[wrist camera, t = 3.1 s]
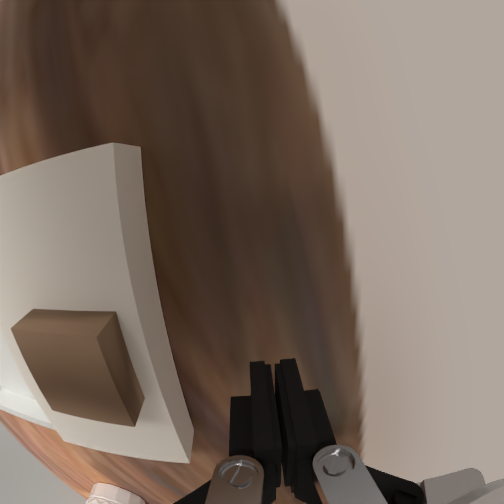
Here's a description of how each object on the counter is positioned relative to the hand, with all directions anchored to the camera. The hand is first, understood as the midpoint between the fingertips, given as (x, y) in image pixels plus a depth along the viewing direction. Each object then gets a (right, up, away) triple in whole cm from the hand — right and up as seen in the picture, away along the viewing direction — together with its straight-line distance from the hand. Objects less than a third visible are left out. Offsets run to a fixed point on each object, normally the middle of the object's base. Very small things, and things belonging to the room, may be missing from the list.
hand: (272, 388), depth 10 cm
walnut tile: (-9, 0, +1) cm, 9 cm away
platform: (-10, +1, +4) cm, 11 cm away
